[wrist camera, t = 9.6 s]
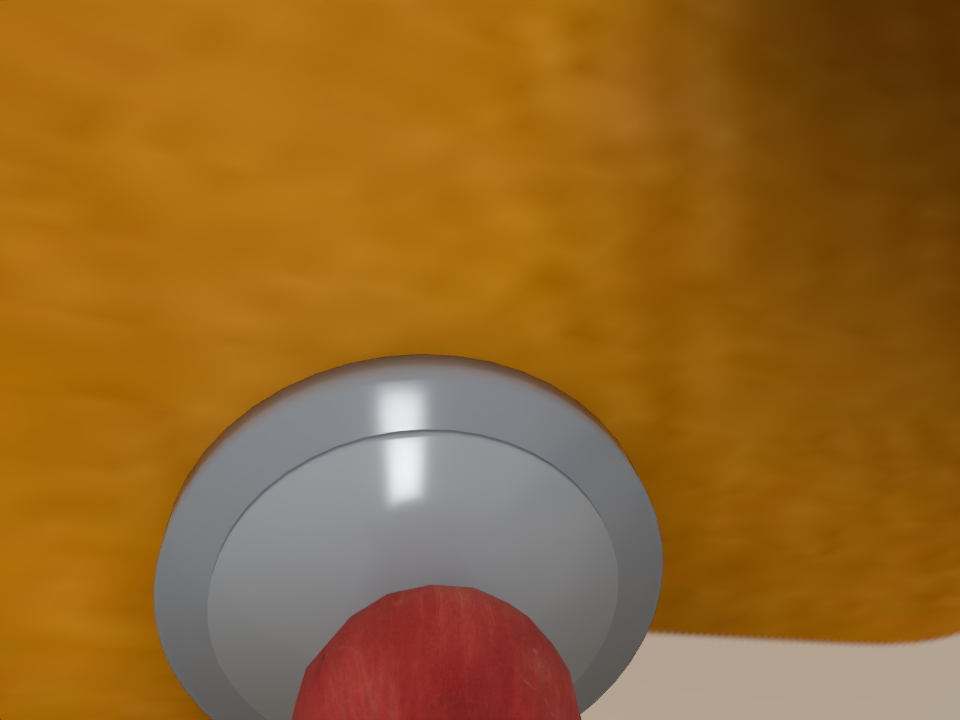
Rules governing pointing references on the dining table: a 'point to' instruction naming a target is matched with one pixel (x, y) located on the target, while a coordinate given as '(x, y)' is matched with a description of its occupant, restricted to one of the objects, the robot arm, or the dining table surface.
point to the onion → (437, 663)
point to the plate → (401, 525)
